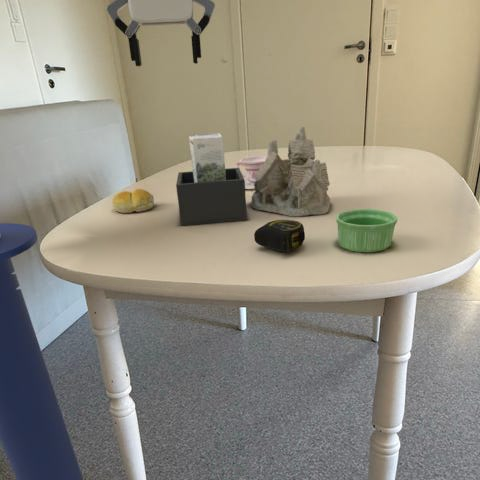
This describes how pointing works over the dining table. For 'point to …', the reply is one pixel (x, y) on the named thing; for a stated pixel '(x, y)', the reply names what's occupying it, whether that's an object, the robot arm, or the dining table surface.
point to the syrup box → (207, 157)
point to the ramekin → (365, 229)
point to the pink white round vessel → (251, 169)
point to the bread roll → (133, 201)
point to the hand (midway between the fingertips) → (167, 64)
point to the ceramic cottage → (292, 180)
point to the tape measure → (280, 235)
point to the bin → (211, 198)
